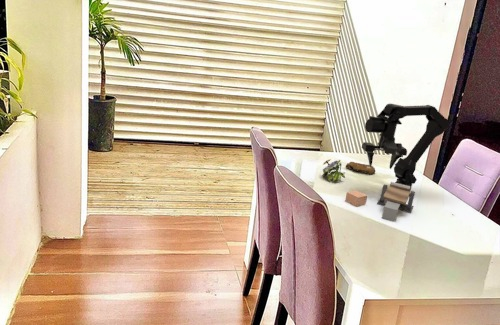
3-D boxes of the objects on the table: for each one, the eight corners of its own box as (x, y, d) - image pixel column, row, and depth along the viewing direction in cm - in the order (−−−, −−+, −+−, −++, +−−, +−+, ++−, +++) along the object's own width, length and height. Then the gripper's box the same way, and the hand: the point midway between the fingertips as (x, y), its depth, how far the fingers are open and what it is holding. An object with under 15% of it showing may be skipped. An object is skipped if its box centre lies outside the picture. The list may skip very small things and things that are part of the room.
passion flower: (322, 187, 225) (323, 163, 229) (345, 187, 222) (346, 164, 226) (320, 180, 215) (321, 155, 218) (344, 180, 212) (345, 155, 216)
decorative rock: (346, 173, 236) (375, 178, 235) (348, 165, 234) (377, 170, 234) (343, 165, 246) (371, 170, 246) (345, 158, 245) (373, 163, 245)
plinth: (354, 199, 198) (356, 190, 197) (365, 204, 194) (367, 195, 193) (345, 201, 195) (346, 192, 194) (356, 206, 190) (358, 197, 189)
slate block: (387, 200, 188) (384, 206, 180) (400, 204, 186) (397, 210, 179) (384, 212, 189) (381, 218, 182) (397, 215, 187) (394, 222, 180)
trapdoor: (388, 186, 199) (389, 181, 198) (410, 191, 195) (411, 186, 194) (382, 200, 189) (383, 195, 187) (405, 206, 185) (406, 201, 184)
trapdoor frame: (379, 199, 202) (383, 182, 200) (413, 208, 197) (417, 190, 195) (376, 204, 196) (380, 186, 194) (411, 213, 191) (415, 195, 189)
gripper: (373, 135, 193) (365, 171, 198) (416, 140, 196) (407, 175, 200) (364, 129, 204) (357, 163, 209) (405, 133, 206) (397, 167, 211)
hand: (380, 167), depth 207 cm, fingers open, 9 cm apart
